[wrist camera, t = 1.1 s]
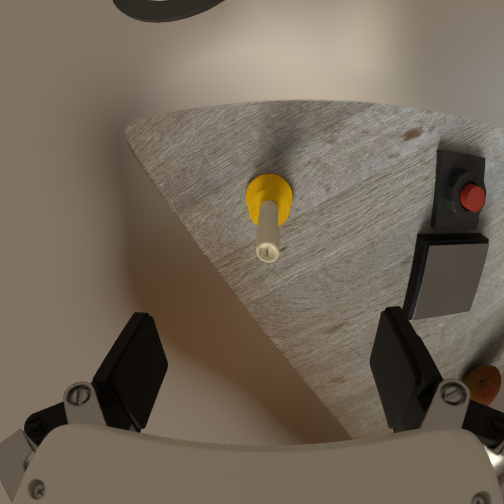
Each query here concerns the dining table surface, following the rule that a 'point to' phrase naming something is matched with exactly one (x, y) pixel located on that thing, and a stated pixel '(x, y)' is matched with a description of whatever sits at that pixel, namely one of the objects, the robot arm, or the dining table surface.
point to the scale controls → (456, 189)
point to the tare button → (472, 197)
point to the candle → (268, 212)
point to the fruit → (483, 383)
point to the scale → (444, 274)
